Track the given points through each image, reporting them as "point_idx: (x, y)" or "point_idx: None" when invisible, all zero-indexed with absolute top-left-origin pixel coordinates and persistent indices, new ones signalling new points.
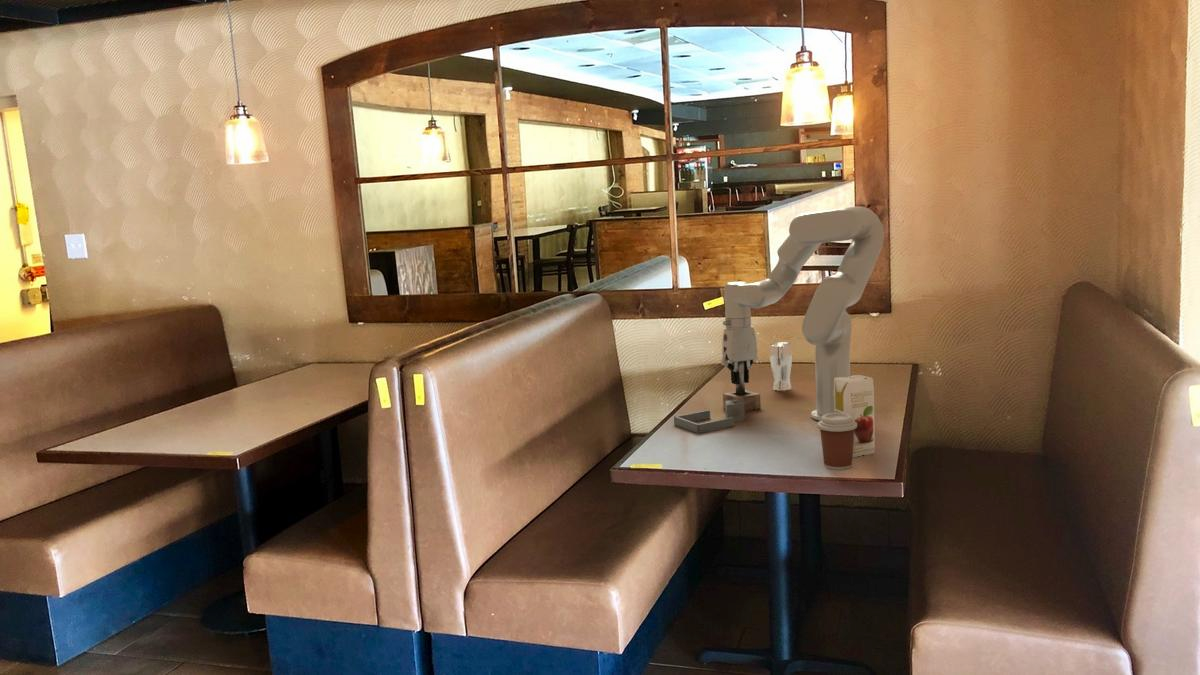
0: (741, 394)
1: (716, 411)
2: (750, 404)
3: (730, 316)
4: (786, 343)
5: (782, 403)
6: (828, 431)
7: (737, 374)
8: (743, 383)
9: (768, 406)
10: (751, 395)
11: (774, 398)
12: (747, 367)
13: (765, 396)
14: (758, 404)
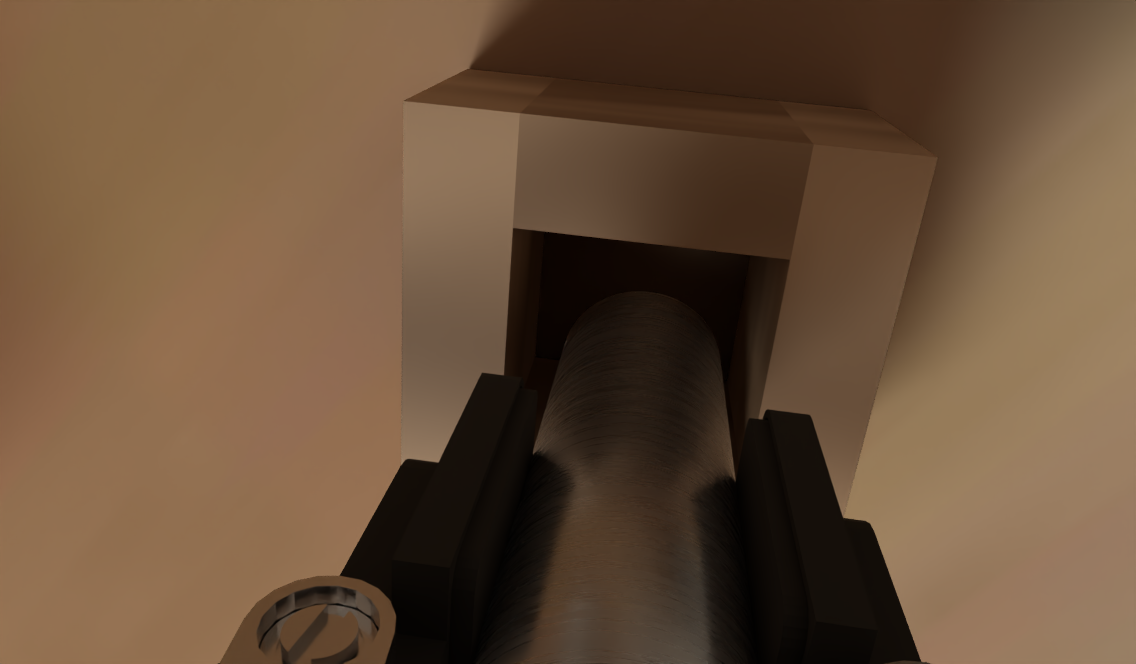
0: (680, 320)
1: (988, 406)
2: (648, 101)
3: None
4: None
5: (59, 56)
6: None
7: (854, 571)
8: (623, 400)
9: (310, 75)
10: (611, 123)
11: (11, 338)
12: (377, 650)
13: (51, 480)
14: (491, 80)
